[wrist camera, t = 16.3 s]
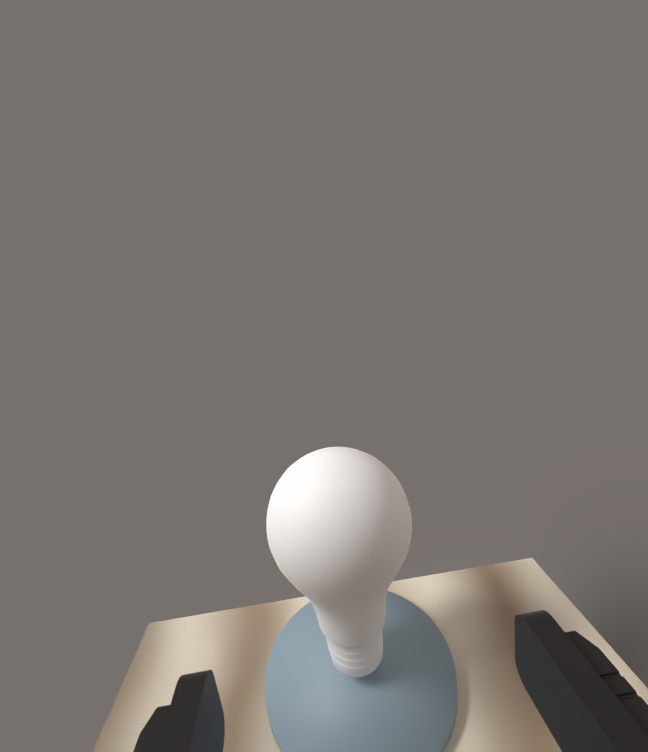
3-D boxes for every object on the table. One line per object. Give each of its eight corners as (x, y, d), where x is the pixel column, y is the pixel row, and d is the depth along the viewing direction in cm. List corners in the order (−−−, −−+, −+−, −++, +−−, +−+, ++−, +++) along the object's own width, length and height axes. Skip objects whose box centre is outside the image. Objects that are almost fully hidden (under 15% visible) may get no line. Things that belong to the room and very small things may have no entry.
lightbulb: (435, 743, 14) (415, 491, 11) (282, 737, 15) (232, 501, 12) (414, 607, 20) (398, 420, 17) (306, 608, 21) (274, 430, 18)
